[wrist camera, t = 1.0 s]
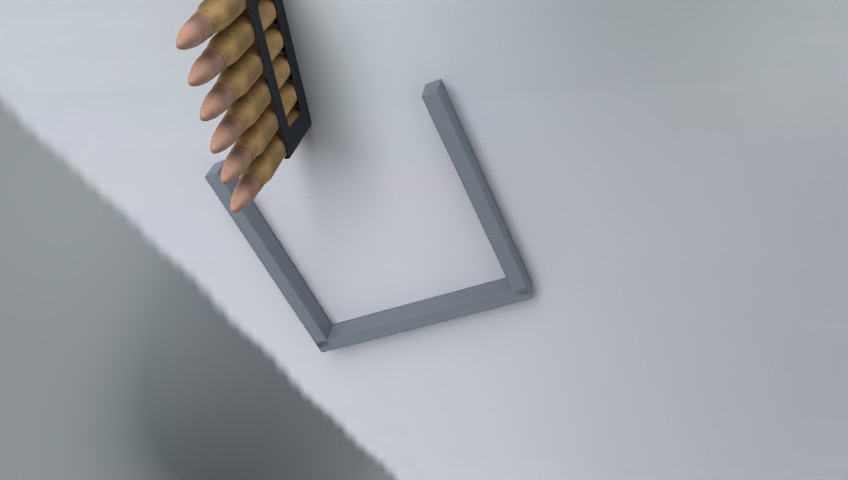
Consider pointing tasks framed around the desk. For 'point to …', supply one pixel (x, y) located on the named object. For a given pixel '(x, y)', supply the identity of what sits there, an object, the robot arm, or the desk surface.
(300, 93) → the ammunition clip
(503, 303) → the grey frame
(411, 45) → the desk surface
